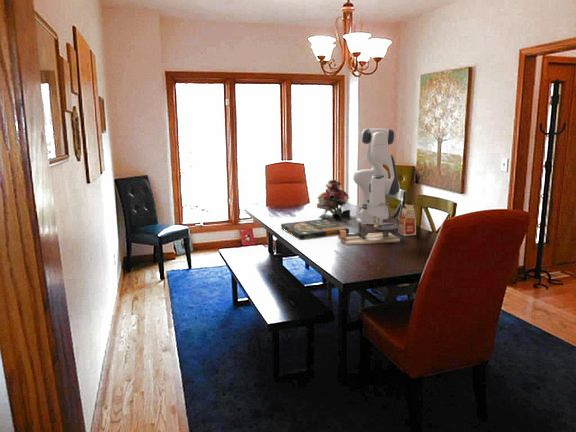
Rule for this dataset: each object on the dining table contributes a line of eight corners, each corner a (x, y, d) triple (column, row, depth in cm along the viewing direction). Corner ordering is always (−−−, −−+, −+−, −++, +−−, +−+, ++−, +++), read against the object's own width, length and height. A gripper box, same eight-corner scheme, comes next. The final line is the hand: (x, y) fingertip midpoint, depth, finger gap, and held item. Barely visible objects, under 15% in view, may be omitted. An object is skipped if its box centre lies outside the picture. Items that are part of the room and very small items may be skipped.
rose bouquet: (349, 214, 349) (349, 177, 343) (350, 222, 321) (351, 181, 315) (317, 214, 352) (316, 177, 346) (316, 222, 324) (315, 182, 318)
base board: (338, 237, 278) (337, 220, 276) (389, 234, 283) (389, 217, 281) (345, 244, 261) (345, 226, 259) (399, 241, 266) (400, 223, 263)
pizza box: (325, 223, 322) (325, 218, 321) (348, 233, 289) (348, 228, 289) (281, 228, 309) (281, 223, 309) (300, 240, 277) (300, 234, 277)
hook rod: (338, 237, 271) (338, 230, 270) (365, 235, 273) (365, 228, 272) (340, 239, 267) (340, 231, 266) (367, 237, 270) (367, 229, 269)
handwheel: (386, 223, 281) (386, 214, 280) (403, 227, 268) (403, 217, 267) (368, 226, 274) (368, 216, 272) (384, 231, 261) (385, 221, 260)
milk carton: (404, 236, 278) (405, 205, 274) (397, 232, 287) (398, 202, 283) (417, 234, 280) (418, 204, 276) (409, 231, 289) (410, 201, 285)
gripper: (391, 203, 257) (390, 226, 260) (374, 198, 276) (373, 220, 279) (381, 204, 255) (381, 227, 258) (365, 199, 274) (365, 221, 277)
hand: (377, 223), depth 268 cm, fingers open, 4 cm apart
